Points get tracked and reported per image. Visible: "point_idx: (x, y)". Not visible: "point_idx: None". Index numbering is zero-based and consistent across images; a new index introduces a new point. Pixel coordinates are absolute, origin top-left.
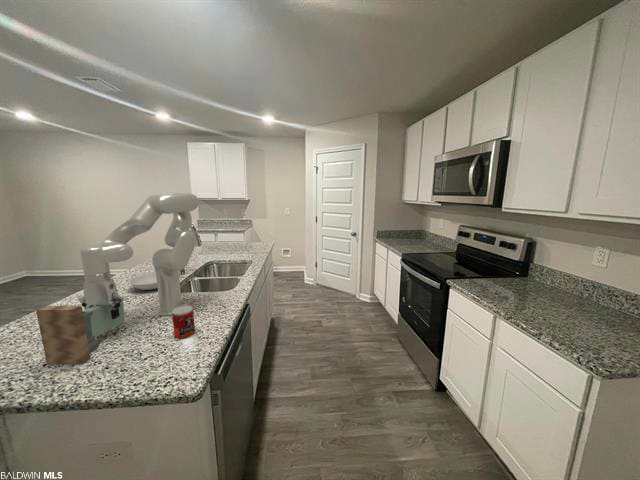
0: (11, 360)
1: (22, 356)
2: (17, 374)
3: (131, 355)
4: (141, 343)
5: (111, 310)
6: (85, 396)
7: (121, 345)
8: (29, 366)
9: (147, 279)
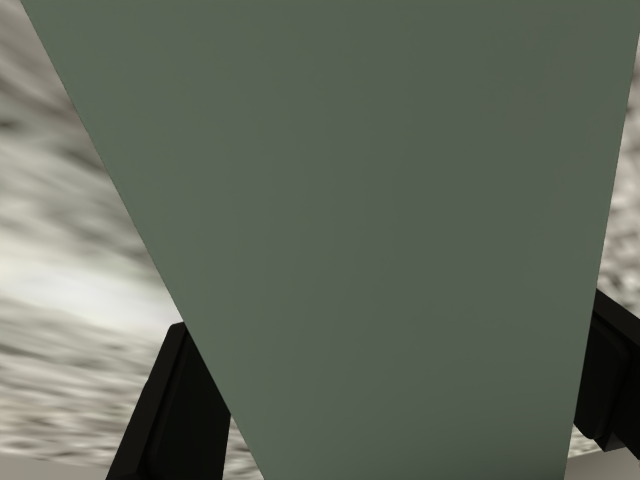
0: (95, 457)
1: (95, 437)
2: (256, 473)
3: (625, 307)
4: (631, 218)
5: (614, 446)
6: (582, 450)
7: None
8: (236, 450)
9: None
